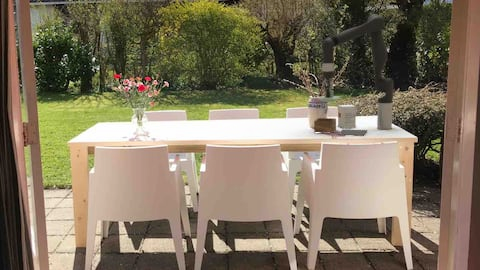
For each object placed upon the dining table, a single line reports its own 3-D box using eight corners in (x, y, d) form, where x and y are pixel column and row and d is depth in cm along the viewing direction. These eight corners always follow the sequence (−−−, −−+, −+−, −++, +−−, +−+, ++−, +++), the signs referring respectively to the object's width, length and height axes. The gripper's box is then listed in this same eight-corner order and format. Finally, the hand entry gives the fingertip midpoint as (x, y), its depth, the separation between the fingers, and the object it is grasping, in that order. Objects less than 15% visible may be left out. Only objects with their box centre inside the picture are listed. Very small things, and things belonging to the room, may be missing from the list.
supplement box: (337, 126, 349) (337, 105, 346) (349, 125, 352) (349, 104, 349) (344, 128, 340) (344, 106, 338) (355, 127, 343) (356, 105, 340)
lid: (321, 99, 335) (321, 89, 333) (340, 99, 330) (340, 89, 329) (317, 101, 324) (317, 91, 322) (336, 101, 319) (336, 91, 318)
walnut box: (318, 130, 339) (317, 118, 337) (336, 130, 335) (336, 118, 333) (314, 133, 328) (314, 120, 326) (333, 133, 324) (333, 121, 322)
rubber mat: (342, 130, 334) (342, 129, 334) (367, 130, 329) (367, 130, 329) (338, 135, 318) (338, 134, 317) (364, 136, 312) (364, 135, 312)
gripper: (324, 69, 331) (325, 96, 334) (320, 71, 318) (320, 98, 322) (336, 69, 329) (336, 96, 332) (332, 71, 316) (332, 98, 319)
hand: (328, 97), depth 327 cm, fingers closed on lid, 2 cm apart
